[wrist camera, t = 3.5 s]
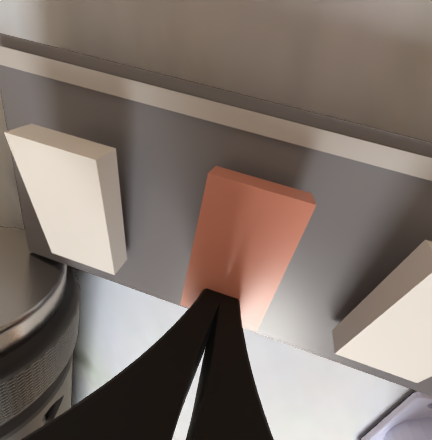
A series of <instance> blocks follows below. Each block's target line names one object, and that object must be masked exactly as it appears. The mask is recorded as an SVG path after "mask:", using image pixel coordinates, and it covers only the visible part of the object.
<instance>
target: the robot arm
mask: <svg viewBox="0 0 432 440" xmlns="http://www.w3.org/2000/svg"><path fill="white" fill-rule="evenodd" d="M205 347H206V348H205ZM204 350H205V353H204ZM203 353H204V358H203V363H202V368H201V373H200V378H199V383H198V388H197V393H196V398H195V403H194V408H193V413H192V417H191V422H190V426H189V430H188V433H187V437H186V440H274V439H273V437H272V434H271V431H270V429H269V426H268V423H267V420H266V417H265V414H264V411H263V408H262V405H261V401H260V398H259V395H258V392H257V388H256V385H255V381H254V378H253V374H252V370H251V366H250V362H249V358H248V353H247V349H246V344H245V338H244V333H243V327H242V320H241V311H240V301H239V300H238V299H237V298H234V297H231V296H228V295H225V294H222V293H219V292H216V291H213V290H211V289H208V288H206V289H203V291H202V292H201V294H200V295H199V297H198V298H197V299H196V300H195V302H194V303H193V304H192V305H191V307H190V308H189V309H188V310H187V311H186V312H185V313H184V315H183V316H182V317H181V318H180V319H179V320H178V321H177V322H176V323H175V324H174V325H173V326H172V327H171V328H170V329H169V330H168V331H167V332H166V333H165V334H164V335H163V336H162V337H161V338H160V339H159V340H158V341H157V342H156V343H155V344H154V345H153V346H151V347H150V348H149V349H148V350H147V351H146V352H145V353H143V354H142V355H141V356H140V357H139V358H138V359H136V360H135V361H134V362H133V363H131V364H130V365H129V366H128V367H126V368H125V369H124V370H123V371H121V372H120V373H119V374H118V375H116V376H115V377H114V378H112V379H111V380H110V381H108V382H107V383H106V384H104V385H103V386H101V387H100V388H99V389H97V390H96V391H94V392H93V393H91V394H90V395H89V396H87V397H86V398H84V399H83V400H81V401H80V402H78V403H77V404H76V405H74V406H73V407H71V408H70V409H68V410H67V411H65V412H64V413H62V414H61V415H59V416H58V417H56V418H54V419H53V420H51V421H50V422H48V423H46V424H45V425H43V426H42V427H40V428H38V429H37V430H35V431H34V432H32V433H30V434H29V435H27V436H26V437H24V438H22V439H21V440H172V437H173V434H174V431H175V428H176V424H177V421H178V418H179V415H180V413H181V410H182V407H183V404H184V402H185V399H186V396H187V394H188V391H189V389H190V386H191V384H192V381H193V378H194V376H195V373H196V371H197V368H198V366H199V363H200V360H201V358H202V355H203ZM361 440H432V396H429V395H427V394H424V393H421V392H418V391H417V392H414V393H413V394H412V395H410V396H409V397H408V398H407V399H406V400H405V401H404V402H402V403H401V404H400V405H399V406H398V407H397V408H396V409H395V410H393V411H392V412H391V413H390V414H389V415H388V416H387V417H385V418H384V419H383V420H382V421H381V422H380V423H379V424H378V425H376V426H375V427H374V428H373V429H372V430H371V431H370V432H368V433H367V434H366V435H365V436H364V437H363V438H362V439H361Z"/></svg>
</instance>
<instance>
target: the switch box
mask: <svg viewBox="0 0 432 440" xmlns="http://www.w3.org/2000/svg"><path fill="white" fill-rule="evenodd" d="M0 90H1V96H2V102H3V107H4V113H5V119H6V125H7V130H8V131H9V130H12V129H16V128H19V127H22V126H25V125H28V124H35V125H38V126H42V127H45V128H48V129H52V130H55V131H59V132H62V133H65V134H69V135H72V136H76V137H79V138H82V139H86V140H89V141H93V142H96V143H99V144H103V145H106V146H109V147H113V148H116V155H117V165H118V175H119V184H120V194H121V204H122V214H123V224H124V233H125V243H126V253H127V260H126V261H125V263H124V264H123V265H122V267H121V268H120V269H119V270H118V272H117V273H116V274H115V275H113V274H110V273H107V272H104V271H101V270H99V269H96V268H93V267H90V266H87V265H85V264H82V263H79V262H76V261H73V260H71V259H68V258H65V257H62V256H59V255H57V254H54V253H52V252H51V250H50V247H49V244H48V242H47V239H46V237H45V234H44V232H43V229H42V227H41V224H40V222H39V219H38V217H37V214H36V212H35V209H34V207H33V204H32V202H31V199H30V197H29V194H28V192H27V189H26V187H25V184H24V182H23V179H22V177H21V174H20V172H19V169H18V166H17V164H16V161H15V159H14V156H13V154H12V159H13V165H14V171H15V176H16V182H17V188H18V194H19V199H20V205H21V211H22V217H23V222H24V228H25V234H26V240H27V245H28V251H30V252H32V253H35V254H38V255H41V256H44V257H46V258H49V259H52V260H55V261H57V262H60V263H63V264H66V265H69V266H71V267H74V268H77V269H80V270H82V271H85V272H88V273H91V274H93V275H96V276H99V277H102V278H105V279H107V280H110V281H113V282H116V283H118V284H121V285H124V286H127V287H130V288H132V289H135V290H138V291H141V292H143V293H146V294H149V295H152V296H155V297H157V298H160V299H163V300H166V301H168V302H171V303H174V304H177V305H180V303H181V298H182V293H183V289H184V284H185V279H186V275H187V270H188V265H189V261H190V256H191V251H192V246H193V242H194V237H195V232H196V228H197V223H198V218H199V214H200V209H201V204H202V199H203V195H204V190H205V185H206V181H207V176H208V173H209V172H210V171H211V170H212V169H213V168H214V167H215V166H219V167H222V168H226V169H229V170H233V171H236V172H239V173H243V174H246V175H250V176H253V177H257V178H260V179H264V180H267V181H271V182H274V183H277V184H281V185H284V186H288V187H291V188H295V189H298V190H302V191H305V192H309V193H312V195H313V197H314V200H315V203H316V207H315V209H314V211H313V214H312V216H311V218H310V220H309V222H308V224H307V226H306V228H305V231H304V233H303V235H302V237H301V239H300V241H299V243H298V245H297V248H296V250H295V252H294V254H293V256H292V258H291V260H290V262H289V265H288V267H287V269H286V271H285V273H284V275H283V277H282V279H281V282H280V284H279V286H278V288H277V290H276V292H275V294H274V297H273V299H272V301H271V303H270V305H269V307H268V309H267V311H266V314H265V316H264V318H263V320H262V322H261V324H260V326H259V328H258V331H257V332H255V333H257V334H260V335H263V336H266V337H268V338H271V339H274V340H277V341H279V342H282V343H285V344H288V345H291V346H293V347H296V348H299V349H302V350H304V351H307V352H310V353H313V354H316V355H318V356H321V357H324V358H327V359H329V360H332V361H335V362H338V363H341V364H343V365H346V366H349V367H352V368H354V369H357V370H360V371H363V372H366V373H368V374H371V375H374V376H377V377H379V378H382V379H385V380H388V381H391V382H393V383H396V384H399V385H402V386H404V387H407V388H410V389H413V390H416V391H418V392H421V393H424V394H427V395H429V396H432V376H431V377H429V378H427V379H425V380H423V381H421V382H418V383H415V382H412V381H410V380H407V379H404V378H401V377H398V376H396V375H393V374H390V373H387V372H384V371H382V370H379V369H376V368H373V367H370V366H368V365H365V364H362V363H359V362H356V361H354V360H351V359H348V358H345V357H342V356H340V355H337V354H335V352H334V344H333V335H332V330H333V329H334V328H335V327H336V326H337V325H338V324H339V323H340V322H341V321H342V320H343V319H344V318H345V317H346V316H347V315H348V314H349V313H350V312H351V311H352V310H353V309H354V308H356V307H357V306H358V305H359V304H360V303H361V302H362V301H363V300H364V299H365V298H366V297H367V296H368V295H369V294H370V293H371V292H372V291H373V290H374V289H375V288H376V287H377V286H378V285H379V284H380V283H381V282H382V281H383V280H384V279H385V278H386V277H387V276H388V275H389V274H390V273H391V272H392V271H393V270H394V269H396V268H397V267H398V266H399V265H400V264H401V263H402V262H403V261H404V260H405V259H406V258H407V257H408V256H409V255H410V254H411V253H412V252H413V251H414V250H415V249H416V248H417V247H418V246H419V245H420V244H421V243H422V242H423V241H424V240H428V241H432V142H428V141H424V140H420V139H416V138H412V137H408V136H404V135H400V134H396V133H392V132H388V131H384V130H381V129H377V128H373V127H369V126H365V125H361V124H357V123H353V122H349V121H345V120H341V119H337V118H333V117H329V116H325V115H321V114H317V113H313V112H309V111H306V110H302V109H298V108H294V107H290V106H286V105H282V104H278V103H274V102H270V101H266V100H262V99H258V98H254V97H250V96H246V95H242V94H238V93H234V92H231V91H227V90H223V89H219V88H215V87H211V86H207V85H203V84H199V83H195V82H191V81H187V80H183V79H179V78H175V77H171V76H167V75H163V74H159V73H155V72H152V71H148V70H144V69H140V68H136V67H132V66H128V65H124V64H120V63H116V62H112V61H108V60H104V59H100V58H96V57H92V56H88V55H84V54H80V53H77V52H73V51H69V50H65V49H61V48H57V47H53V46H49V45H45V44H41V43H37V42H33V41H29V40H25V39H21V38H17V37H13V36H9V35H5V34H1V33H0ZM11 153H12V151H11ZM180 306H182V305H180ZM182 307H185V306H182ZM185 308H188V307H185ZM188 309H189V308H188ZM243 329H246V328H243ZM246 330H249V329H246ZM249 331H252V330H249ZM252 332H254V331H252Z"/></svg>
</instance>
